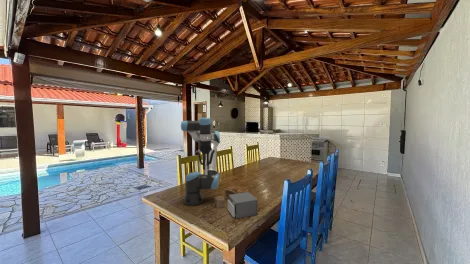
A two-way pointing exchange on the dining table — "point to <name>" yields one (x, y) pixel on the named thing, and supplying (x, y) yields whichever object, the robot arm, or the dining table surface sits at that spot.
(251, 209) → the grey drawer cabinet
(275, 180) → the dining table surface
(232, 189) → the bread
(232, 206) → the grey drawer
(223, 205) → the riser cube
